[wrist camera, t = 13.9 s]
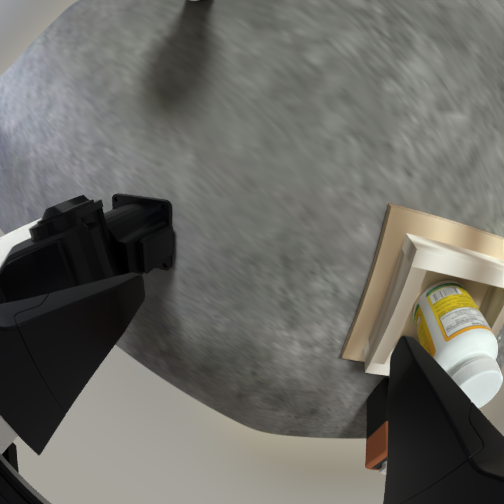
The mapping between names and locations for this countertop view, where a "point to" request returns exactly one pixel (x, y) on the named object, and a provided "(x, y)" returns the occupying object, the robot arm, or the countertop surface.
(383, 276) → the base
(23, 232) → the can
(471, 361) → the supplement bottle
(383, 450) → the battery
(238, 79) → the countertop surface
